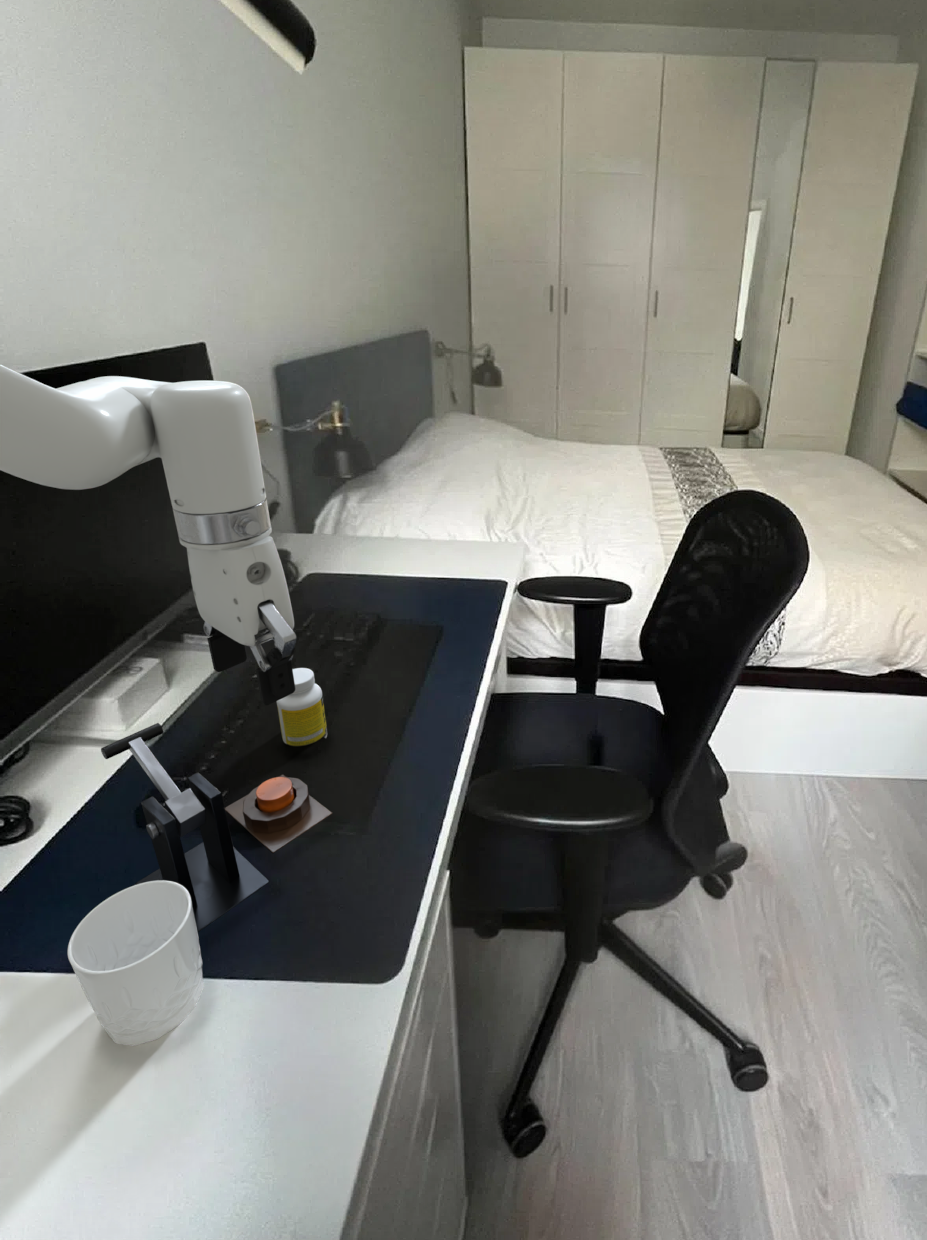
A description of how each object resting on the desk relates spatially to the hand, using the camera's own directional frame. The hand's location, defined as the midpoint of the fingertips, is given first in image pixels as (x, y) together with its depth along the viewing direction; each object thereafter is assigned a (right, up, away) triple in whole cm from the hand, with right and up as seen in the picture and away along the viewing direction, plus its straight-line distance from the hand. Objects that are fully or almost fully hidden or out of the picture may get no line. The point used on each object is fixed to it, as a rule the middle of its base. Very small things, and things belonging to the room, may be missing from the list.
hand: (254, 681), depth 66 cm
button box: (-1, -17, +7) cm, 18 cm away
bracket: (-4, -20, -2) cm, 21 cm away
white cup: (-1, -25, -12) cm, 28 cm away
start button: (-1, -14, +6) cm, 16 cm away
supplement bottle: (-3, -12, +19) cm, 23 cm away
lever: (-7, -9, -3) cm, 12 cm away
